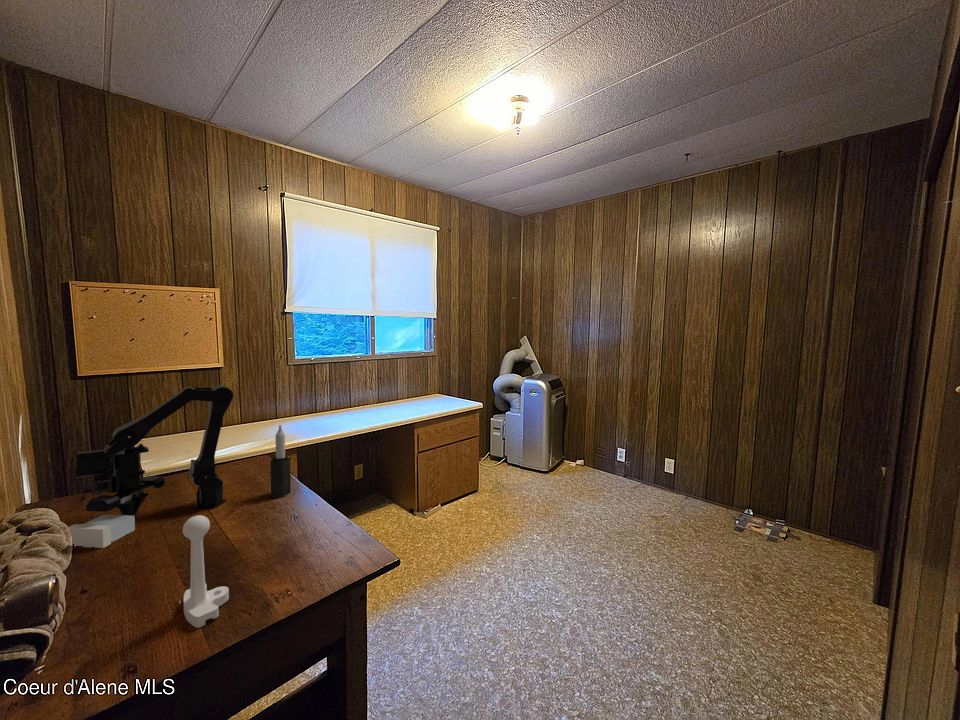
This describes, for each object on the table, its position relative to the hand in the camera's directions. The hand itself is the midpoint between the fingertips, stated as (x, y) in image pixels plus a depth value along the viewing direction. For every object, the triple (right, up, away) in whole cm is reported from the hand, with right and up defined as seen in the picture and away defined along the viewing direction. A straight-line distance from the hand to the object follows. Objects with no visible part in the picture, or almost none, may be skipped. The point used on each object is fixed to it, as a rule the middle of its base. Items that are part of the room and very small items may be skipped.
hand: (129, 520), depth 111 cm
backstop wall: (0, -2, -11) cm, 11 cm away
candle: (+32, -1, +23) cm, 40 cm away
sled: (0, -1, -6) cm, 6 cm away
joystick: (+46, -4, -32) cm, 57 cm away
